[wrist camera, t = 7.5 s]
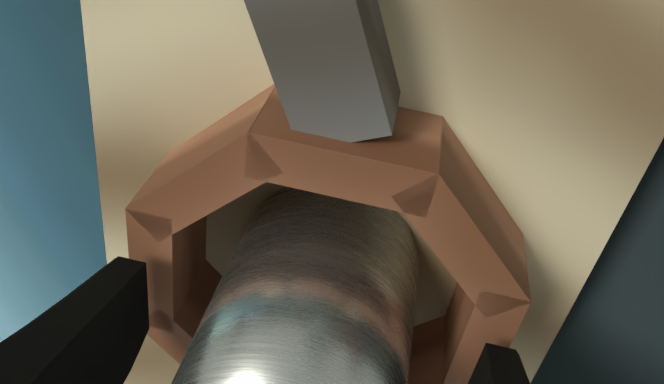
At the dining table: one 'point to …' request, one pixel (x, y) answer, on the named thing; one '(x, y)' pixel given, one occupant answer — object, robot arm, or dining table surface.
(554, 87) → the coupling stand
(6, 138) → the dining table surface
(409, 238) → the cylinder
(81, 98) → the dining table surface
